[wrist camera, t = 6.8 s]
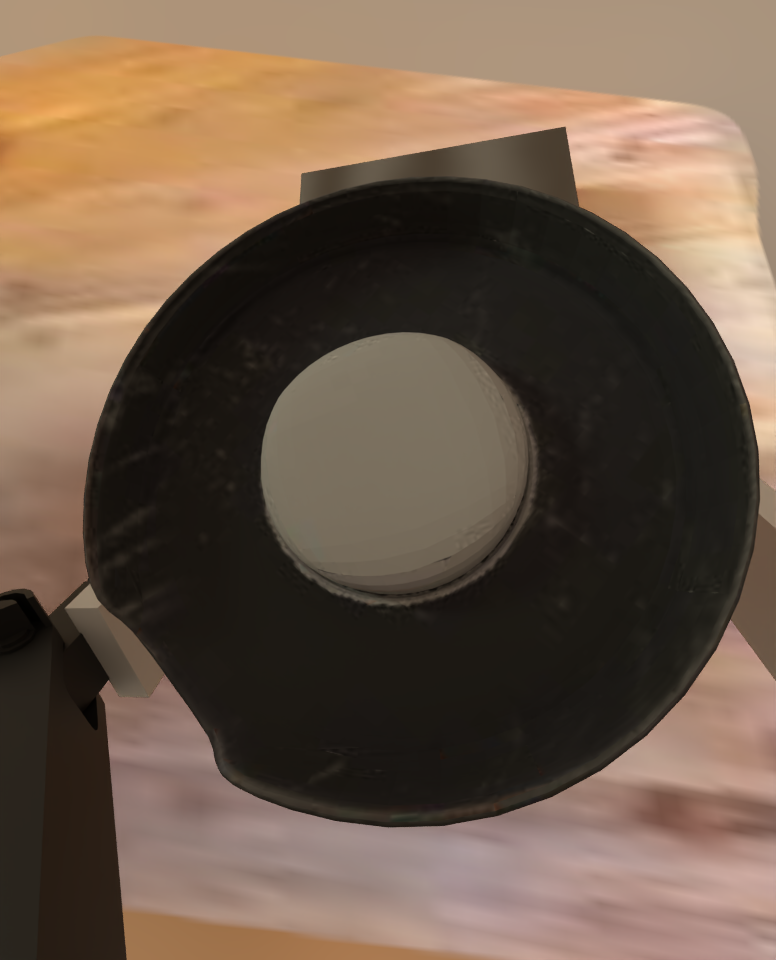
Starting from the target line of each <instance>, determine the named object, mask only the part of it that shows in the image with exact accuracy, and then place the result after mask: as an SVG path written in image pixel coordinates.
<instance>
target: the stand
mask: <svg viewBox="0 0 776 960" xmlns="http://www.w3.org/2000/svg"><path fill="white" fill-rule="evenodd" d="M433 176H452V177H465V178H477V179H487V180H492V181H497V182H502V183H508V184H513V185H518V186H523V187H526V188H529V189H532V190H535V191H539V192H542V193H545V194H548V195H552V196H555V197H558V198H560V199H562V200H565V201H567V202H569V203H571V204H574V205H576V206H578V207H579V204H578V198H577V192H576V186H575V180H574V174H573V168H572V163H571V157H570V151H569V145H568V139H567V133H566V127H561V128H555V129H550V130H544V131H539V132H533V133H527V134H522V135H516V136H510V137H505V138H499V139H493V140H488V141H482V142H477V143H471V144H465V145H460V146H454V147H448V148H443V149H437V150H432V151H426V152H420V153H415V154H409V155H403V156H398V157H392V158H387V159H381V160H375V161H370V162H364V163H358V164H353V165H347V166H342V167H336V168H330V169H325V170H319V171H313V172H308V173H302V174H301V192H300V204H302V203H304V202H306V201H308V200H311V199H314V198H317V197H320V196H323V195H326V194H329V193H332V192H335V191H338V190H341V189H345V188H350V187H354V186H359V185H363V184H367V183H372V182H376V181H384V180H392V179H400V178H408V177H433Z"/></svg>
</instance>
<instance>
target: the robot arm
mask: <svg viewBox="0 0 776 960" xmlns="http://www.w3.org/2000/svg"><path fill="white" fill-rule="evenodd" d="M759 480H760V504H759V513H758V521H757V529H756V538H755V546H754V551H753V555H752V558H751V562H750V565H749V569H748V572H747V576H746V579H745V583H744V586H743V590H742V593H741V597H740V600H739V602H738V604H737V606H736V608H735V611H734V613H733V615H732V617H731V621H732V622H733V623H734V625H735V626H736V627H737V629H738V630H739V631H740V633H741V634H742V635H743V637H744V638H745V640H746V641H747V642H748V644H749V645H750V646H751V648H752V649H753V650H754V652H755V653H756V654H757V656H758V657H759V659H760V660H761V661H762V663H763V664H764V665H765V667H766V668H767V669H768V671H769V672H770V674H771V675H772V676H773V678H774V679H775V680H776V491H775V490H774V489H773V488H771V487H770V486H769V485H768V484H766V483H765V482H764V481H762V480H761V479H760V478H759ZM163 676H164V672H163V671H162V669H161V668H160V667H159V665H158V664H157V663H156V661H155V660H154V658H153V657H152V656H151V654H150V653H149V652H148V651H147V649H146V648H145V647H144V646H143V644H142V643H141V642H140V641H139V639H138V638H137V637H136V635H135V634H134V633H133V632H132V631H131V630H130V629H129V628H128V627H127V626H126V625H125V624H124V623H123V622H122V621H120V620H119V619H118V618H116V617H115V616H114V615H112V614H111V613H110V612H109V611H108V610H107V609H106V608H105V607H104V606H103V605H102V604H101V603H100V602H99V601H98V599H97V598H96V595H95V593H94V591H93V589H92V587H91V585H90V581H89V578H88V581H87V582H84V583H83V584H82V585H81V586H80V587H79V588H78V589H77V590H76V591H74V592H73V593H72V594H71V595H70V596H69V597H68V598H67V599H66V600H65V601H64V602H63V603H62V604H61V605H60V606H59V607H58V608H57V609H56V610H55V611H54V612H53V613H52V614H50V615H49V616H48V615H47V613H46V612H45V610H44V609H43V607H42V606H41V604H40V603H39V601H38V600H37V598H36V597H35V595H34V594H33V592H32V591H31V590H27V589H16V590H11V591H8V592H4V593H1V594H0V960H126V947H125V936H124V924H123V912H122V901H121V889H120V877H119V866H118V854H117V842H116V831H115V819H114V807H113V796H112V784H111V772H110V761H109V749H108V737H107V726H106V714H105V704H104V702H103V700H102V698H101V696H100V695H99V692H100V690H101V689H102V688H103V686H104V685H105V684H106V683H107V681H108V680H109V681H110V682H111V684H112V685H113V687H114V689H115V690H116V692H117V693H118V695H119V697H147V698H149V697H150V696H151V694H152V693H153V691H154V689H155V688H156V686H157V685H158V683H159V682H160V680H161V679H162V677H163Z"/></svg>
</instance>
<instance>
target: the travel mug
mask: <svg viewBox="0 0 776 960" xmlns="http://www.w3.org/2000/svg"><path fill="white" fill-rule="evenodd" d="M759 504H760V480H759V453H758V445H757V440H756V435H755V430H754V425H753V420H752V415H751V410H750V404H749V401H748V398H747V396H746V393H745V390H744V387H743V385H742V382H741V379H740V376H739V374H738V371H737V368H736V365H735V363H734V360H733V358H732V356H731V355H730V353H729V351H728V349H727V347H726V345H725V343H724V342H723V340H722V338H721V336H720V334H719V332H718V331H717V329H716V327H715V325H714V323H713V321H712V320H711V319H710V317H709V316H708V315H707V313H706V312H705V311H704V309H703V308H702V307H701V305H700V304H699V303H698V301H697V300H696V298H695V297H694V296H693V294H692V293H691V292H690V290H689V289H688V288H687V287H686V286H685V285H684V284H683V283H682V282H681V280H680V279H679V278H678V277H677V276H676V275H675V274H674V273H673V272H672V271H671V270H670V269H669V268H668V267H667V266H666V265H665V264H664V263H663V262H662V261H661V260H660V259H659V258H658V257H657V256H655V255H654V254H653V253H651V252H650V251H649V250H648V249H646V248H645V247H644V246H642V245H641V244H640V243H639V242H637V241H636V240H635V239H634V238H632V237H631V236H630V235H628V234H627V233H626V232H624V231H622V230H621V229H619V228H617V227H616V226H614V225H612V224H610V223H609V222H607V221H605V220H604V219H602V218H600V217H599V216H597V215H595V214H594V213H592V212H589V211H587V210H585V209H583V208H580V207H578V206H576V205H574V204H571V203H569V202H567V201H565V200H562V199H560V198H558V197H555V196H552V195H548V194H545V193H542V192H539V191H535V190H532V189H529V188H526V187H523V186H518V185H513V184H508V183H502V182H497V181H492V180H487V179H477V178H465V177H452V176H433V177H408V178H400V179H392V180H384V181H376V182H372V183H367V184H363V185H359V186H354V187H350V188H345V189H341V190H338V191H335V192H332V193H329V194H326V195H323V196H320V197H317V198H314V199H311V200H308V201H306V202H304V203H302V204H299V205H297V206H295V207H293V208H290V209H288V210H286V211H284V212H281V213H279V214H277V215H275V216H273V217H271V218H270V219H268V220H266V221H264V222H263V223H261V224H259V225H257V226H256V227H254V228H252V229H250V230H248V231H247V232H245V233H244V234H242V235H241V236H239V237H238V238H237V239H235V240H234V241H232V242H231V243H229V244H228V245H227V246H225V247H224V248H222V249H221V250H220V251H218V252H217V253H216V254H214V255H213V256H212V257H211V258H210V259H209V260H207V261H206V262H205V263H204V264H203V265H202V266H200V267H199V268H198V269H197V270H196V271H195V272H193V273H192V274H191V275H190V276H189V277H188V278H187V279H186V280H185V281H184V282H183V283H182V285H181V286H180V287H179V288H178V289H177V290H176V291H175V292H174V293H173V294H172V295H171V296H170V297H169V298H168V299H167V300H166V301H165V303H164V304H163V305H162V307H161V308H160V309H159V310H158V312H157V313H156V314H155V315H154V317H153V318H152V319H151V321H150V322H149V323H148V324H147V326H146V327H145V328H144V330H143V331H142V333H141V335H140V336H139V338H138V339H137V341H136V343H135V344H134V346H133V347H132V349H131V351H130V352H129V354H128V355H127V357H126V359H125V361H124V363H123V365H122V367H121V369H120V371H119V373H118V375H117V377H116V379H115V381H114V383H113V385H112V387H111V389H110V392H109V394H108V397H107V400H106V402H105V405H104V408H103V411H102V413H101V416H100V419H99V422H98V424H97V428H96V432H95V437H94V441H93V445H92V449H91V453H90V457H89V462H88V469H87V477H86V485H85V492H84V512H83V539H84V551H85V563H86V567H87V572H88V576H89V581H90V585H91V587H92V589H93V591H94V593H95V595H96V598H97V599H98V601H99V602H100V603H101V604H102V605H103V606H104V607H105V608H106V609H107V610H108V611H109V612H110V613H111V614H112V615H114V616H115V617H116V618H118V619H119V620H120V621H122V622H123V623H124V624H125V625H126V626H127V627H128V628H129V629H130V630H131V631H132V632H133V633H134V634H135V635H136V637H137V638H138V639H139V641H140V642H141V643H142V644H143V646H144V647H145V648H146V649H147V651H148V652H149V653H150V654H151V656H152V657H153V658H154V660H155V661H156V663H157V664H158V665H159V667H160V668H161V669H162V671H163V672H164V674H165V675H166V676H167V678H168V679H169V680H170V682H171V683H172V684H173V686H174V687H175V689H176V690H177V691H178V693H179V694H180V696H181V697H182V698H183V700H184V701H185V703H186V704H187V705H188V707H189V708H190V710H191V711H192V712H193V714H194V716H195V717H196V719H197V720H198V722H199V723H200V725H201V726H202V728H203V729H204V731H205V732H206V734H207V736H208V737H209V740H210V742H211V745H212V748H213V752H214V757H215V762H216V764H217V767H218V769H219V771H220V773H221V774H222V776H223V777H225V778H226V779H227V780H228V781H229V782H230V783H232V784H233V785H235V786H236V787H238V788H240V789H242V790H244V791H246V792H248V793H250V794H252V795H254V796H256V797H258V798H260V799H263V800H266V801H268V802H271V803H274V804H277V805H279V806H282V807H285V808H287V809H290V810H294V811H298V812H302V813H306V814H310V815H314V816H318V817H322V818H326V819H330V820H334V821H340V822H348V823H357V824H365V825H373V826H381V827H421V826H445V825H451V824H456V823H462V822H467V821H472V820H478V819H483V818H489V817H494V816H499V815H502V814H505V813H507V812H510V811H513V810H516V809H519V808H522V807H525V806H527V805H530V804H533V803H536V802H539V801H542V800H545V799H547V798H550V797H552V796H554V795H556V794H558V793H560V792H562V791H564V790H566V789H567V788H569V787H571V786H573V785H575V784H577V783H579V782H580V781H582V780H584V779H586V778H588V777H590V776H592V775H593V774H595V773H597V772H599V771H601V770H602V769H604V768H605V767H606V766H608V765H609V764H610V763H611V762H613V761H614V760H615V759H617V758H618V757H619V756H621V755H622V754H623V753H625V752H626V751H627V750H628V749H630V748H631V747H632V746H634V745H635V744H636V743H638V742H639V741H640V740H642V739H643V738H644V737H645V736H647V735H648V734H649V732H650V731H651V730H652V729H653V728H654V727H655V726H656V725H657V724H658V723H659V722H660V721H661V720H662V719H663V718H664V717H665V716H666V715H667V713H668V712H669V711H670V710H671V709H672V708H673V707H674V706H675V705H676V704H677V703H678V702H679V701H680V700H681V699H682V698H683V697H684V696H685V694H686V693H687V691H688V690H689V688H690V687H691V686H692V684H693V683H694V681H695V680H696V678H697V677H698V675H699V674H700V672H701V671H702V669H703V668H704V667H705V665H706V664H707V662H708V661H709V659H710V658H711V656H712V655H713V653H714V652H715V651H716V649H717V647H718V644H719V642H720V640H721V638H722V636H723V634H724V632H725V630H726V628H727V625H728V623H729V621H730V619H731V617H732V615H733V613H734V611H735V608H736V606H737V604H738V602H739V600H740V597H741V593H742V590H743V586H744V583H745V579H746V576H747V572H748V569H749V565H750V562H751V558H752V555H753V551H754V546H755V538H756V529H757V521H758V513H759Z"/></svg>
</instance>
